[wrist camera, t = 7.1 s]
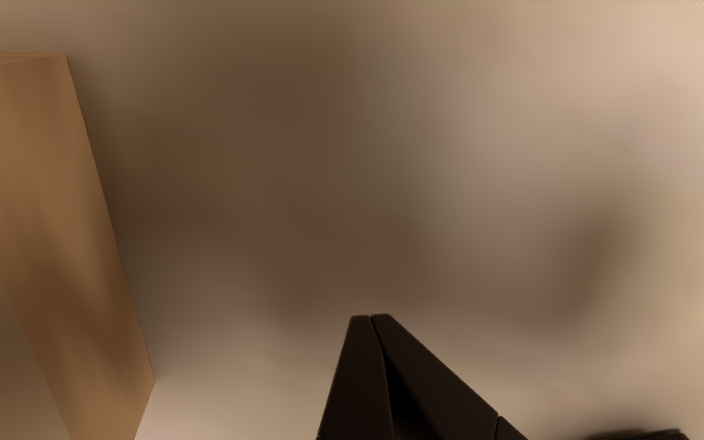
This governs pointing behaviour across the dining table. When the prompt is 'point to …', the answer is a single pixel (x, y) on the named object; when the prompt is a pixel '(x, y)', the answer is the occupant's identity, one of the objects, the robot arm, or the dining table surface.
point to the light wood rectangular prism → (60, 271)
